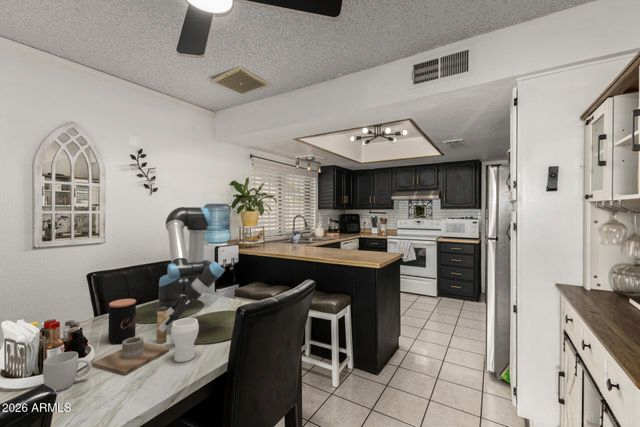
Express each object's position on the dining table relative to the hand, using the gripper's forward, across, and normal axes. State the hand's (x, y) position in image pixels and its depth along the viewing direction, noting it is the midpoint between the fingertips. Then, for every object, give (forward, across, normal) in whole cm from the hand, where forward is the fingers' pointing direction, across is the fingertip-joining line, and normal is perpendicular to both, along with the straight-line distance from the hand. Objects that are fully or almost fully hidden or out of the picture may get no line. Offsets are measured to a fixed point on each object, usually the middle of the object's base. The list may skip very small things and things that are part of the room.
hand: (160, 324), depth 134 cm
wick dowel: (+6, +1, -6) cm, 8 cm away
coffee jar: (+18, +11, +6) cm, 21 cm away
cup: (-1, -20, -13) cm, 24 cm away
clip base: (+13, -12, +1) cm, 17 cm away
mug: (+25, -24, +13) cm, 37 cm away
